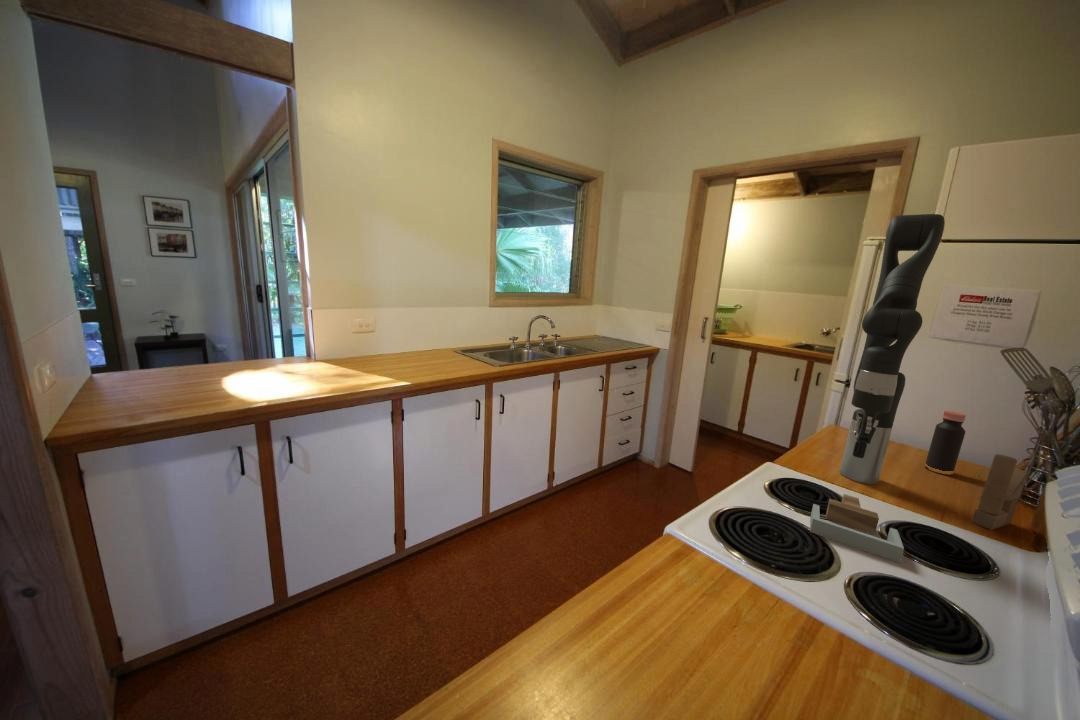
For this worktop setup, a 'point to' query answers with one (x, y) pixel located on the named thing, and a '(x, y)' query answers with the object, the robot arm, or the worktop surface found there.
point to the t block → (852, 514)
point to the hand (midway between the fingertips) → (857, 456)
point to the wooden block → (1000, 493)
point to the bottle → (946, 442)
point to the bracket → (858, 537)
